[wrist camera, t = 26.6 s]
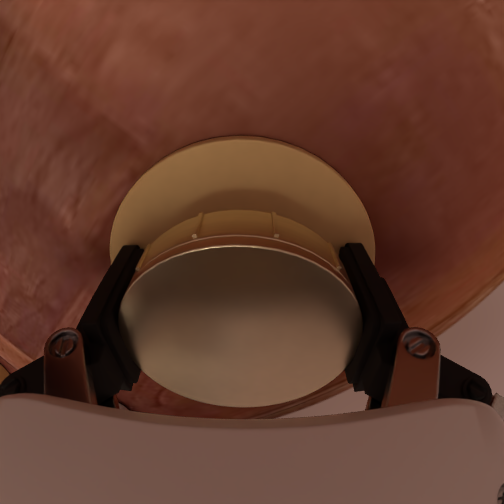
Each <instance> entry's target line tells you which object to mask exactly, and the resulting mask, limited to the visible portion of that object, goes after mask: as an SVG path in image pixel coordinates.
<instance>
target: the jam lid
mask: <svg viewBox="0 0 504 504" xmlns="http://www.w3.org/2000/svg"><path fill="white" fill-rule="evenodd" d="M135 270H136V271H135V273H134V275H133V277H132V280H131V282H130V284H129V286H128V288H127V290H126V292H125V295H124V297H123V299H122V301H121V304H120V309H119V313H118V327H119V332H120V335H121V337H122V340H123V342H124V344H125V346H126V348H127V351H128V353H129V355H130V357H131V359H132V360H133V361H134V363H135V364H136V365H137V366H138V367H139V368H140V369H141V370H142V371H143V372H144V373H145V374H146V375H148V376H149V377H150V378H151V379H153V380H154V381H155V382H157V383H158V384H160V385H161V386H163V387H165V388H167V389H169V390H171V391H173V392H175V393H177V394H179V395H182V396H184V397H187V398H190V399H193V400H196V401H200V402H204V403H208V404H213V405H219V406H228V407H259V406H268V405H274V404H280V403H284V402H287V401H291V400H294V399H297V398H300V397H303V396H305V395H307V394H310V393H312V392H314V391H316V390H318V389H320V388H321V387H323V386H325V385H326V384H328V383H329V382H330V381H332V380H333V379H334V378H336V377H337V376H338V375H339V374H340V373H341V372H342V371H343V370H344V369H345V368H346V367H347V366H348V365H349V363H350V362H351V360H352V359H353V357H354V354H355V352H356V349H357V346H358V344H359V341H360V338H361V335H362V332H363V318H362V312H361V309H360V306H359V303H358V301H357V298H356V295H355V293H354V290H353V288H352V285H351V283H350V280H349V278H348V275H347V273H346V270H345V268H344V266H343V264H342V262H341V260H340V258H339V257H338V255H337V254H336V252H335V250H334V248H333V245H332V244H331V243H330V242H329V243H327V242H326V241H325V240H323V239H322V238H321V237H320V236H319V235H318V234H316V233H315V232H313V231H312V230H310V229H309V228H307V227H305V226H304V225H301V224H299V223H297V222H295V221H293V220H291V219H288V218H285V217H282V216H278V215H276V212H272V213H266V212H260V211H252V210H227V211H217V212H212V213H207V214H203V212H202V213H199V215H198V216H197V217H194V218H191V219H188V220H186V221H184V222H182V223H180V224H178V225H176V226H174V227H172V228H171V229H169V230H168V231H166V232H165V233H163V234H162V235H161V236H160V237H159V238H158V239H157V240H155V241H154V242H153V243H152V244H151V245H150V244H148V245H147V247H146V249H145V251H144V252H143V254H142V256H141V258H140V260H139V262H138V264H137V266H136V268H135Z"/></svg>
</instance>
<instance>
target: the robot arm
mask: <svg viewBox="0 0 504 504" xmlns="http://www.w3.org/2000/svg"><path fill="white" fill-rule="evenodd" d="M143 252H144V249H140V247H139V246H138V245H123V246H122V248H121V249H120V251H119V253H118V254H117V256H116V258H115V259H114V261H113V263H112V264H111V266H110V268H109V269H108V271H107V273H106V274H105V276H104V278H103V280H102V281H101V283H100V285H99V286H98V288H97V290H96V292H95V293H94V295H93V297H92V299H91V301H90V303H89V305H88V306H87V308H86V310H85V312H84V314H83V316H82V318H81V320H80V322H79V324H78V326H77V328H76V329H75V328H69V327H68V328H62V329H60V330H57V331H56V332H54V333H53V334H52V335H51V336H50V337H49V338H48V339H47V341H46V343H45V347H44V356H42V357H40V358H39V359H37V360H35V361H33V362H32V363H30V364H28V365H26V366H24V367H23V368H21V369H19V370H17V371H15V372H14V373H12V374H10V375H9V376H7V377H6V378H5V379H4V380H3V381H2V383H1V385H0V504H504V397H502V396H500V395H499V394H497V393H496V394H495V395H494V396H493V395H492V392H491V388H490V386H489V384H488V383H487V382H486V380H485V379H483V378H482V377H481V376H479V375H477V374H475V373H473V372H471V371H470V370H468V369H466V368H464V367H462V366H460V365H458V364H457V363H455V362H453V361H451V360H449V359H447V358H445V357H444V356H442V355H441V354H440V353H441V349H440V343H439V341H438V340H437V338H436V337H435V336H434V335H433V334H432V333H431V332H429V331H428V330H425V329H423V328H418V327H411V328H409V327H408V325H407V323H406V321H405V318H404V316H403V314H402V312H401V310H400V308H399V306H398V304H397V302H396V300H395V298H394V296H393V294H392V292H391V290H390V288H389V287H388V285H387V283H386V281H385V280H384V278H382V277H381V278H380V276H379V274H378V272H377V270H376V268H375V266H374V264H373V263H372V261H371V259H370V257H369V255H368V253H367V251H366V250H365V248H364V246H363V244H362V243H346V244H345V247H341V248H340V251H339V256H338V257H339V258H340V260H341V262H342V264H343V266H344V268H345V270H346V273H347V275H348V278H349V280H350V283H351V285H352V288H353V290H354V293H355V295H356V298H357V301H358V303H359V306H360V309H361V312H362V318H363V332H362V335H361V338H360V341H359V344H358V346H357V349H356V352H355V354H354V357H353V359H352V360H351V362H350V363H349V365H348V366H347V367H346V368H345V373H346V377H347V381H348V383H349V384H352V383H353V387H354V391H355V392H357V391H365V394H367V395H369V398H368V402H367V405H366V409H365V411H359V412H351V413H343V414H336V415H325V416H314V417H300V418H284V419H283V418H281V419H212V418H194V417H181V416H169V415H160V414H151V413H143V412H136V411H129V410H122V409H120V408H119V404H118V400H117V395H116V394H117V393H119V390H127V391H131V390H132V386H133V383H137V381H138V379H139V375H140V371H141V369H140V368H139V367H138V366H137V365H136V364H135V363H134V361H133V360H132V359H131V357H130V355H129V353H128V351H127V348H126V346H125V344H124V342H123V340H122V337H121V335H120V332H119V327H118V313H119V309H120V304H121V301H122V299H123V297H124V295H125V292H126V290H127V288H128V286H129V284H130V282H131V280H132V277H133V275H134V273H135V271H136V270H135V268H136V266H137V264H138V262H139V260H140V258H141V256H142V254H143Z"/></svg>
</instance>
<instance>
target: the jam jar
mask: <svg viewBox="0 0 504 504" xmlns="http://www.w3.org/2000/svg"><path fill="white" fill-rule="evenodd" d="M9 375H10V374H9V373H8V372H7V370H6V369H5V368H4V367H3V366H2V365H1V364H0V385H1V383H2V381H3V380H4V379H5V378H6V377H7V376H9Z"/></svg>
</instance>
